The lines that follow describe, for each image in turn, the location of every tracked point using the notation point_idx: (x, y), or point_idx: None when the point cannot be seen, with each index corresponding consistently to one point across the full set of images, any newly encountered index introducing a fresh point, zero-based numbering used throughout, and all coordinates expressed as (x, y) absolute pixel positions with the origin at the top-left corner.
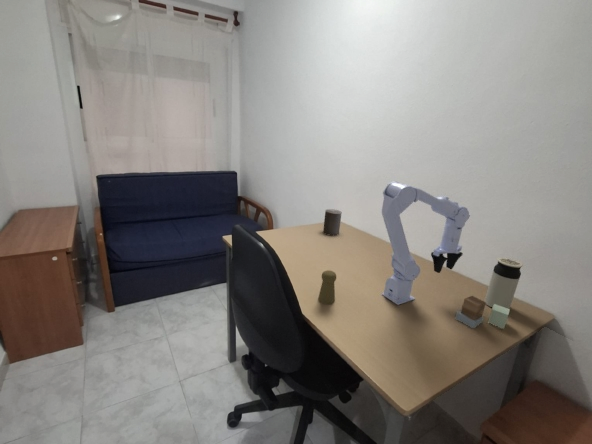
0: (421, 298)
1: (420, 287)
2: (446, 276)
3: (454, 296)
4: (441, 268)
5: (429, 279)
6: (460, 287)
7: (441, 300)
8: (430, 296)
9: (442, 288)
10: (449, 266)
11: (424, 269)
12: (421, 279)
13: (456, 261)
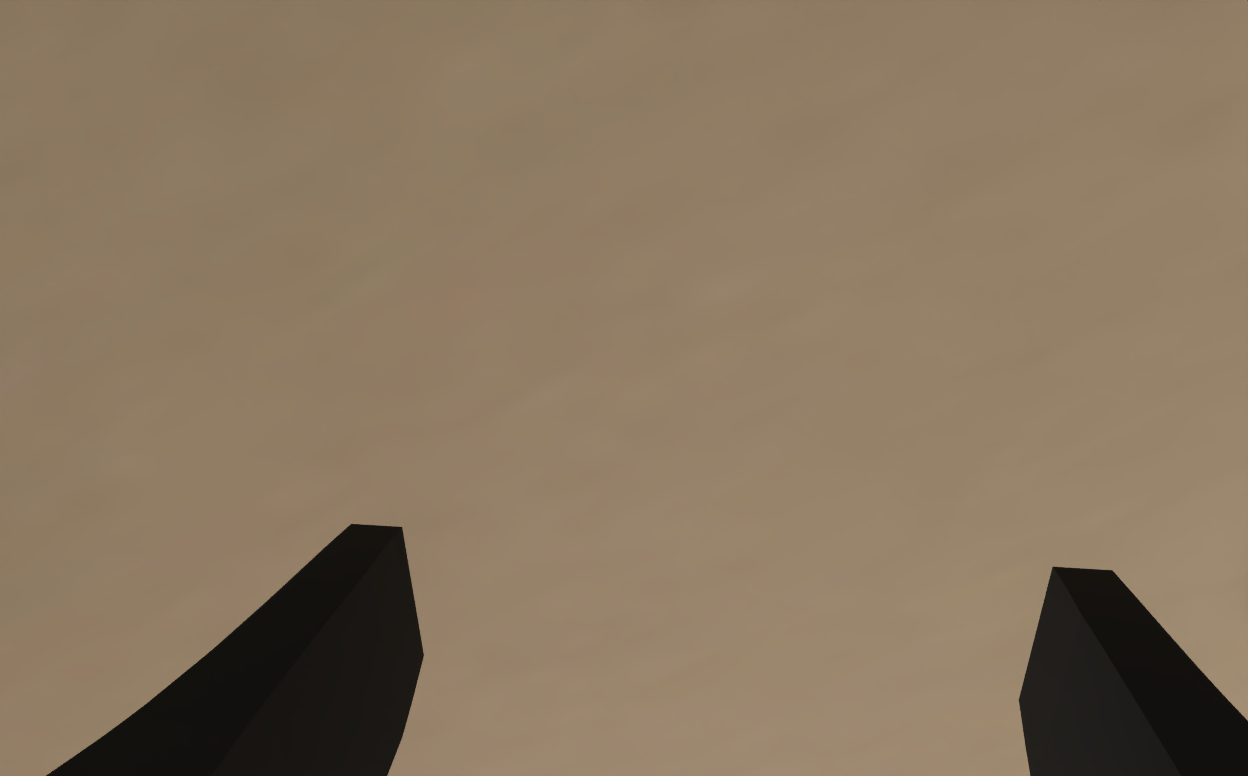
0: (1212, 276)
1: (819, 498)
2: (24, 506)
3: (481, 21)
4: (1158, 691)
5: (412, 571)
6: (53, 183)
7: (911, 46)
8: (966, 243)
9: (450, 313)
10: (391, 640)
11: None
12: (549, 623)
13: (129, 726)
